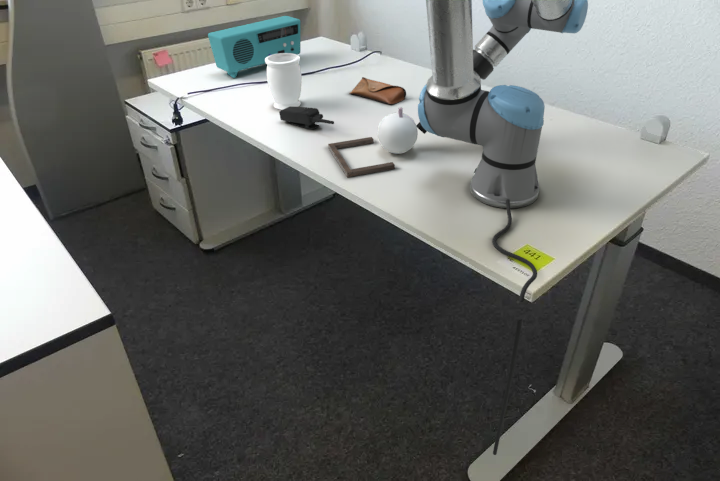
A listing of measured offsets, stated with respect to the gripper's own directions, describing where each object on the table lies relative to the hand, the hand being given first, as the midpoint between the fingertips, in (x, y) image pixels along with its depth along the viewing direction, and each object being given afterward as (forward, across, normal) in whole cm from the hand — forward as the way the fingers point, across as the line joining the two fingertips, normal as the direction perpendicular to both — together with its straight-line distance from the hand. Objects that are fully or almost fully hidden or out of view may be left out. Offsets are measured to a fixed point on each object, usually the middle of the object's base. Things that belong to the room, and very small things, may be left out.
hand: (420, 130), depth 142 cm
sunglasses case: (+3, +40, -5) cm, 40 cm away
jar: (+23, +43, +16) cm, 51 cm away
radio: (+24, +84, +17) cm, 89 cm away
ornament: (+8, 0, +1) cm, 8 cm away
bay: (+15, 0, +8) cm, 17 cm away
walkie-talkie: (+21, +24, +13) cm, 34 cm away
